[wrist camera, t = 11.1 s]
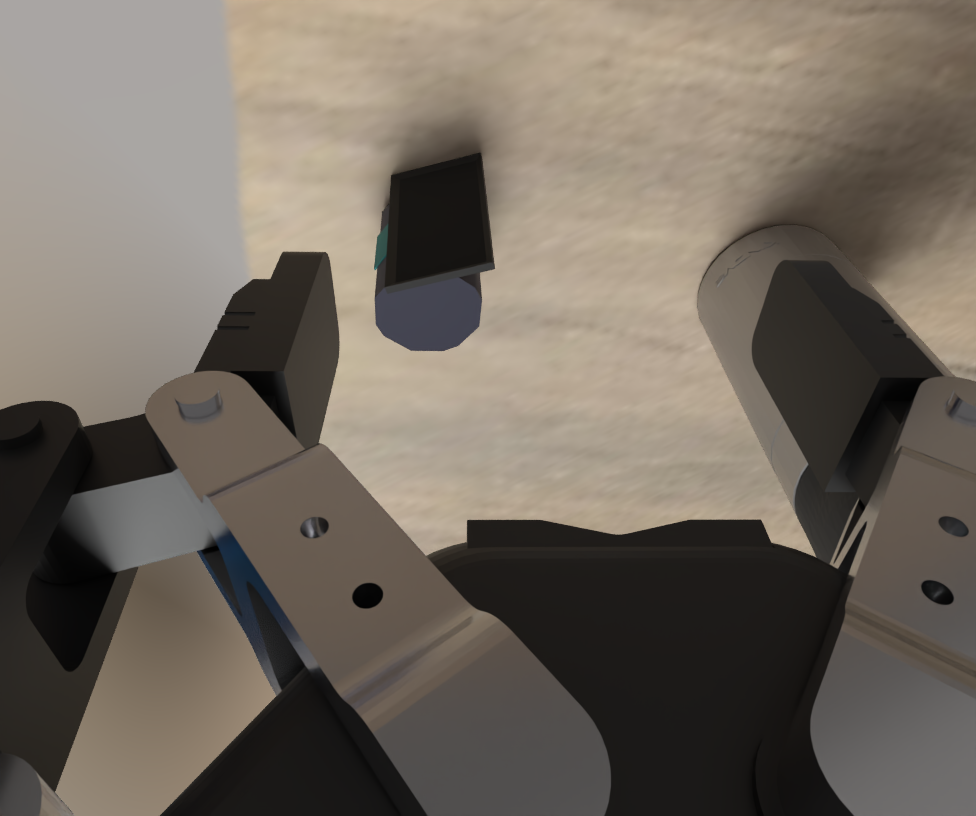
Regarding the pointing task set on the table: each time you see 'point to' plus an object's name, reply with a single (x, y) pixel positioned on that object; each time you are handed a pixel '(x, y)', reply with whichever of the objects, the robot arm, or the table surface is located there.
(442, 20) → the table surface
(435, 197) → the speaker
